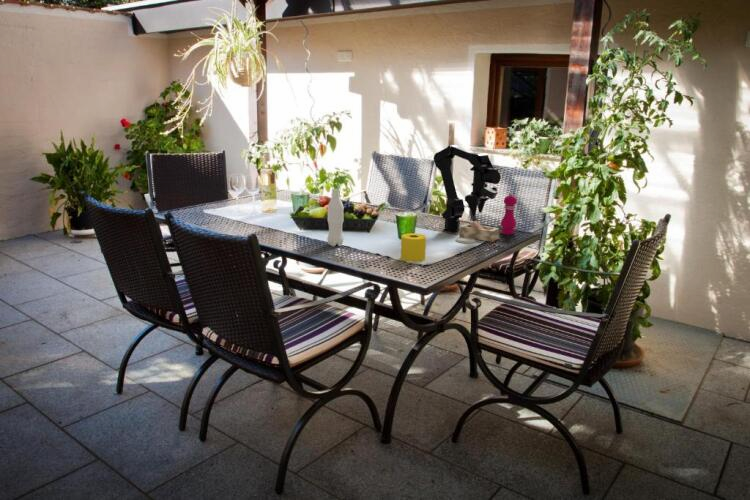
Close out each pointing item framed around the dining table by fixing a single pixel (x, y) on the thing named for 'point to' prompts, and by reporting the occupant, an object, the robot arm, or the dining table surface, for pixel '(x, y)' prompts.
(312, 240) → the dining table surface
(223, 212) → the dining table surface
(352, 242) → the dining table surface
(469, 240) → the felt coaster
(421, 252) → the yellow hollow cylinder
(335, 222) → the water bottle
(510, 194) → the pepper mill
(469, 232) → the beech pocket board
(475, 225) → the terracotta block
